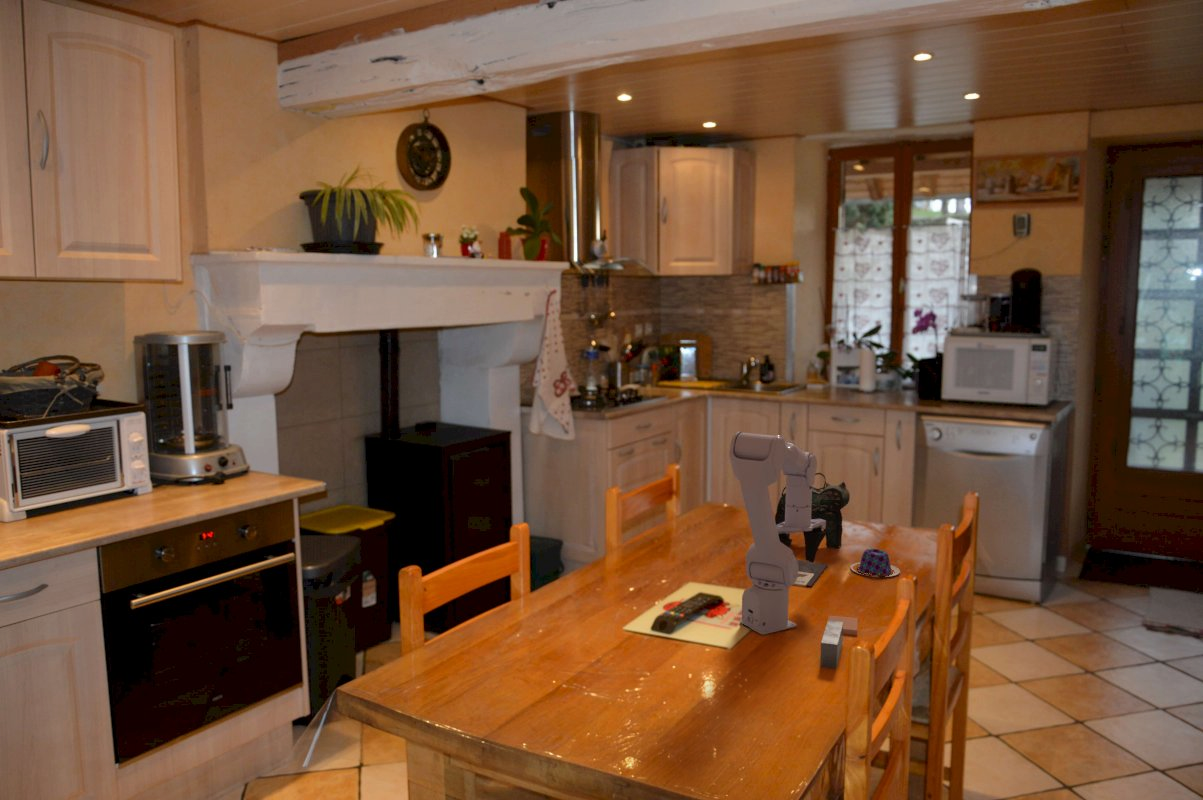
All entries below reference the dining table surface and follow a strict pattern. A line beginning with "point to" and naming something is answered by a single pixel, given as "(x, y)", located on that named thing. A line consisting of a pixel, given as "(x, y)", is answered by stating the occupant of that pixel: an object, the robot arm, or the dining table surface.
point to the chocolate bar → (809, 573)
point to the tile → (847, 624)
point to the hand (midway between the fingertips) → (796, 563)
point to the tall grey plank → (831, 644)
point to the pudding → (876, 563)
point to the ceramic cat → (823, 510)
